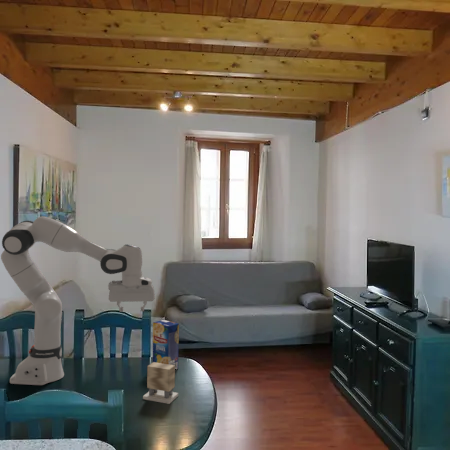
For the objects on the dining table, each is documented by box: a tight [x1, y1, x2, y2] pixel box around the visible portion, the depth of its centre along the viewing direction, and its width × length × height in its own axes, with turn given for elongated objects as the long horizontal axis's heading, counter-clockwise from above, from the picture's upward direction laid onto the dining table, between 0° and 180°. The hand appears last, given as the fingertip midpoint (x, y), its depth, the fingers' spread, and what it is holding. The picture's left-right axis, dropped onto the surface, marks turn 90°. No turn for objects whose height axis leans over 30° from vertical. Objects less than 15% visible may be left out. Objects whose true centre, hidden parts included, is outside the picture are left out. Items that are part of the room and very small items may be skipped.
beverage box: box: [152, 319, 180, 370], centre depth 209 cm, size 7×11×22 cm, turn 51°
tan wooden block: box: [146, 361, 176, 392], centre depth 176 cm, size 10×5×9 cm, turn 70°
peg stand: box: [142, 388, 179, 405], centre depth 176 cm, size 12×8×4 cm, turn 70°
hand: (131, 311), depth 193 cm, fingers open, 8 cm apart
